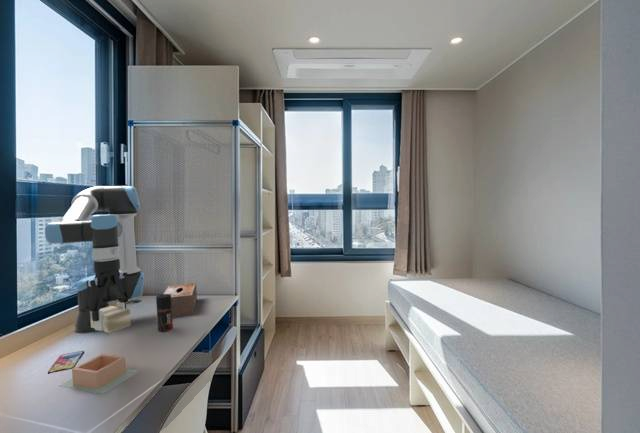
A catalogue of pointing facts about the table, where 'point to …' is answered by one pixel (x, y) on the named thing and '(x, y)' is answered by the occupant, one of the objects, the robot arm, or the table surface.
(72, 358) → the smartphone
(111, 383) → the felt mat
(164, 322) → the deodorant
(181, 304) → the tissue box cover
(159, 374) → the table surface
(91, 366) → the peach open-top box
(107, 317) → the beige block
